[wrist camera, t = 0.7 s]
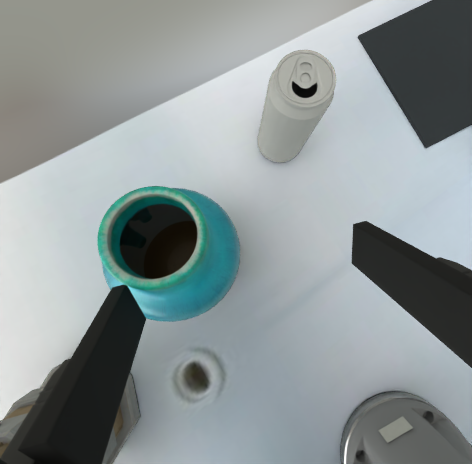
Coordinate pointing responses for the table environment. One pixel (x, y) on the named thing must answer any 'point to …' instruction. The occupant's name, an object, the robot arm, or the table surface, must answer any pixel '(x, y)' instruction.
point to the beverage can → (295, 103)
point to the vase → (169, 251)
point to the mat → (428, 65)
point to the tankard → (124, 424)
